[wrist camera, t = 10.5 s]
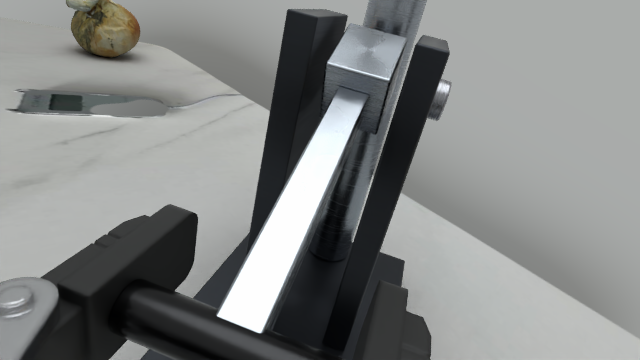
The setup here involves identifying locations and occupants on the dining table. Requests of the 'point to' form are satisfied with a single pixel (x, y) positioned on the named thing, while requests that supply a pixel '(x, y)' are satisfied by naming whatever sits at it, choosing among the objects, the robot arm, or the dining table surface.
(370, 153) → the tap spout
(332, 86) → the tap lever
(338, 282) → the bracket
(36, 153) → the dining table surface
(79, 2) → the onion
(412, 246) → the dining table surface
